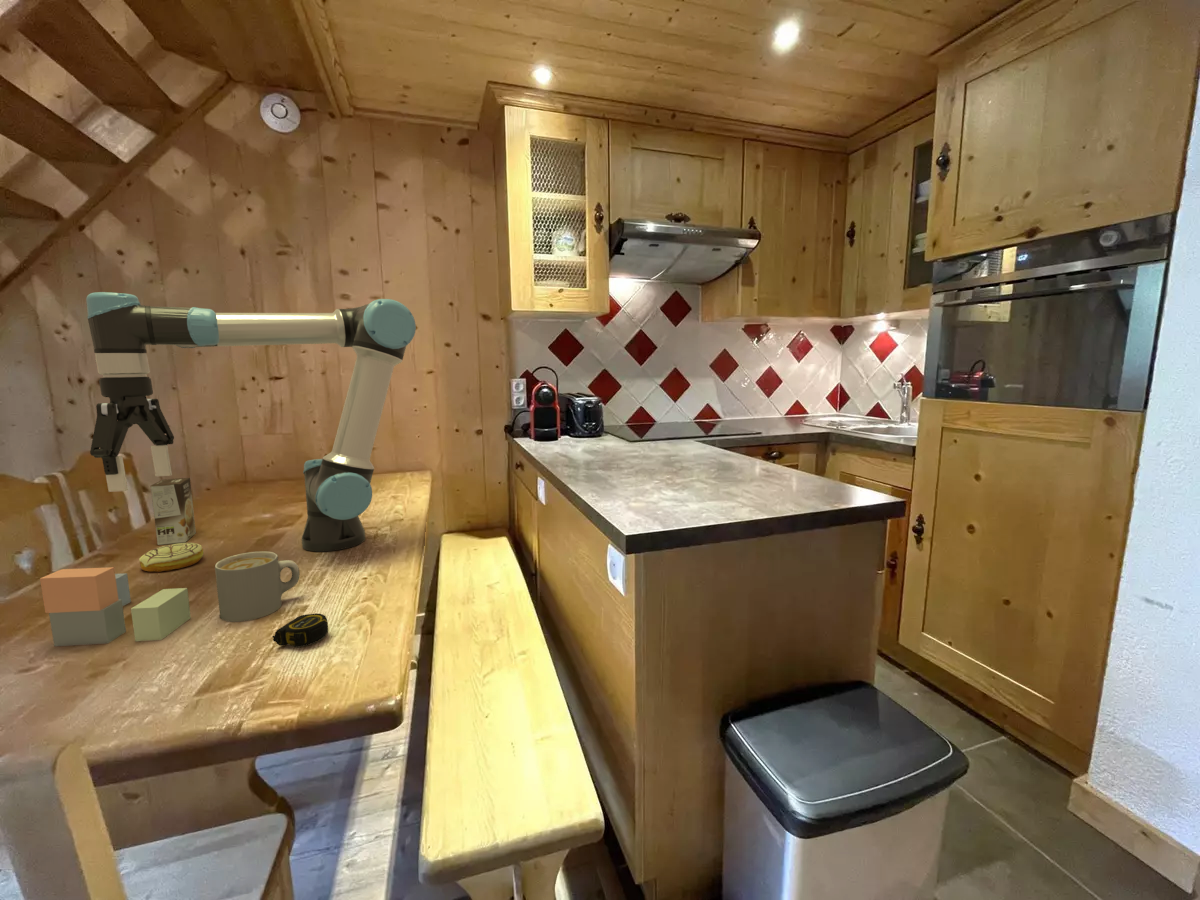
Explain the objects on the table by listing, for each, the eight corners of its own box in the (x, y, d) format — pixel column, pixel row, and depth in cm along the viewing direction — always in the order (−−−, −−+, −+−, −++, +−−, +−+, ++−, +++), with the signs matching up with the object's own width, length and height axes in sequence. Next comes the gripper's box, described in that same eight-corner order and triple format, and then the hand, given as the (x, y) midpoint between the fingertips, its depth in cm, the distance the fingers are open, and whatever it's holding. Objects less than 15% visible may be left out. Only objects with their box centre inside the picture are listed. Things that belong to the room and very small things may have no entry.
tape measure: (303, 629, 93) (301, 610, 92) (337, 633, 92) (336, 613, 91) (273, 649, 86) (271, 628, 86) (309, 653, 85) (308, 632, 85)
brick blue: (130, 602, 103) (127, 573, 102) (115, 611, 99) (111, 581, 98) (85, 604, 102) (81, 575, 101) (68, 613, 98) (63, 583, 97)
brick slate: (125, 631, 91) (121, 599, 90) (108, 643, 87) (103, 609, 87) (74, 634, 90) (69, 601, 89) (54, 646, 86) (48, 612, 85)
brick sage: (167, 619, 96) (163, 589, 95) (190, 618, 97) (187, 587, 96) (135, 641, 88) (130, 608, 87) (161, 640, 89) (157, 607, 88)
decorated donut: (142, 563, 124) (140, 547, 123) (203, 553, 131) (201, 537, 130) (139, 578, 115) (136, 560, 114) (205, 566, 122) (203, 549, 122)
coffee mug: (218, 626, 93) (212, 574, 92) (222, 605, 102) (216, 557, 100) (303, 609, 100) (299, 560, 99) (300, 590, 109) (296, 545, 107)
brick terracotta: (118, 600, 90) (114, 567, 89) (100, 610, 86) (95, 576, 85) (66, 602, 89) (61, 569, 88) (45, 613, 85) (39, 578, 84)
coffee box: (187, 542, 138) (180, 483, 136) (156, 545, 135) (149, 485, 133) (196, 532, 146) (190, 477, 144) (168, 535, 144) (161, 479, 141)
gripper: (145, 375, 112) (160, 471, 115) (47, 378, 87) (70, 499, 91) (184, 374, 113) (198, 469, 116) (99, 377, 89) (120, 497, 92)
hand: (142, 483), depth 104 cm, fingers open, 13 cm apart
